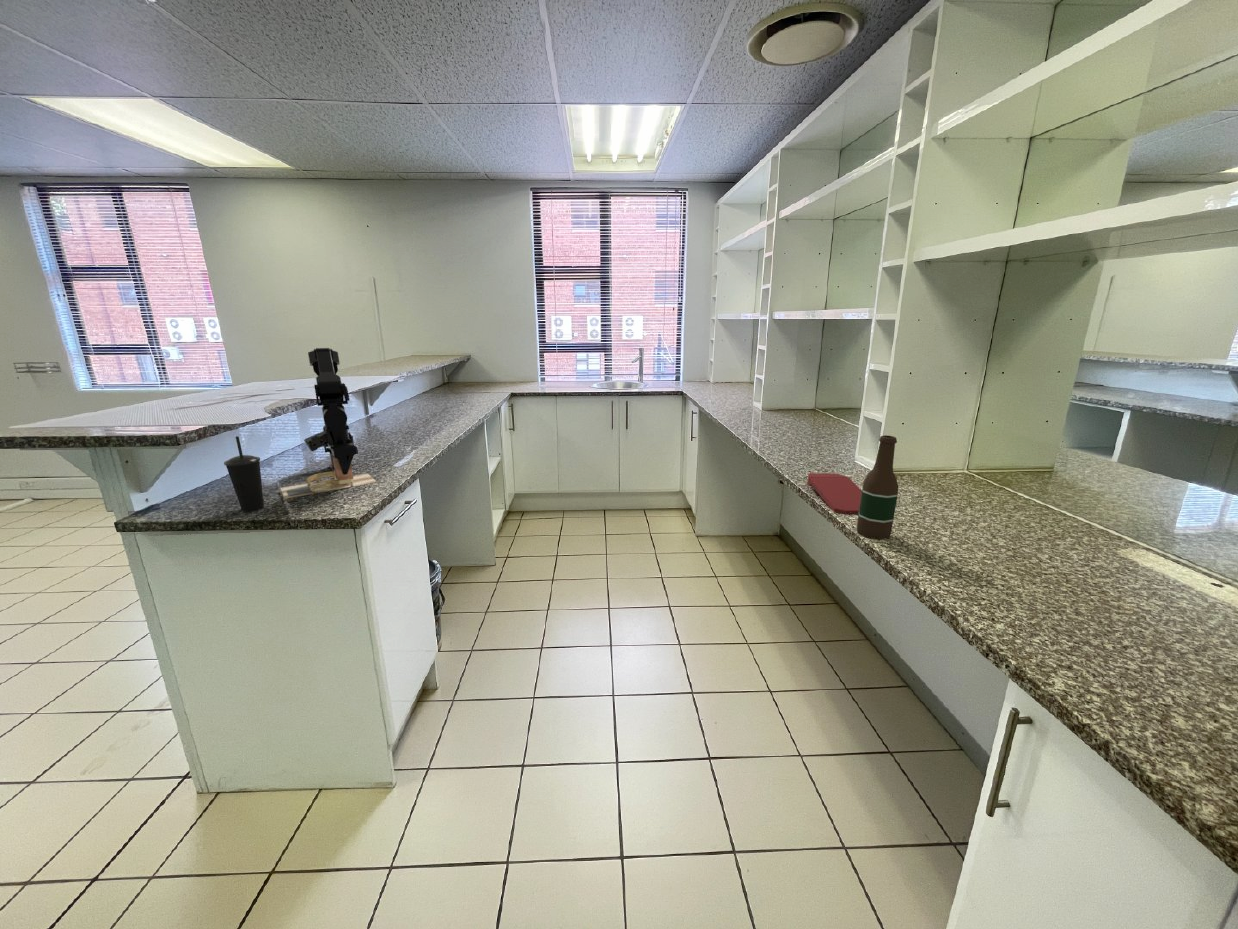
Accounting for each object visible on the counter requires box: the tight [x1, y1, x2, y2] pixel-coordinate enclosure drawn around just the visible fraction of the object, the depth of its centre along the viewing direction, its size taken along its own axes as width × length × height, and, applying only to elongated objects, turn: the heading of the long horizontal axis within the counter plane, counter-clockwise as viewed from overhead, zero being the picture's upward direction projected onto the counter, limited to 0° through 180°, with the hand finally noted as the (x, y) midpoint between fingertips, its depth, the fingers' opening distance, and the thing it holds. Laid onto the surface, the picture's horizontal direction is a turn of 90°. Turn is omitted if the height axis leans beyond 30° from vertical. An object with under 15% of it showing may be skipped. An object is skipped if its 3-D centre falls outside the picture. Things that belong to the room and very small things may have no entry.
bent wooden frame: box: [306, 470, 354, 495], centre depth 146 cm, size 12×11×2 cm
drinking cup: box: [223, 436, 265, 513], centre depth 127 cm, size 8×8×20 cm
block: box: [333, 457, 354, 480], centre depth 147 cm, size 4×4×7 cm
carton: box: [806, 472, 862, 515], centre depth 140 cm, size 12×5×25 cm
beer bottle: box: [856, 434, 899, 541], centre depth 113 cm, size 8×8×24 cm
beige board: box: [279, 472, 378, 503], centre depth 147 cm, size 12×24×1 cm, turn 130°
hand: (343, 472), depth 147 cm, fingers closed on block, 4 cm apart
